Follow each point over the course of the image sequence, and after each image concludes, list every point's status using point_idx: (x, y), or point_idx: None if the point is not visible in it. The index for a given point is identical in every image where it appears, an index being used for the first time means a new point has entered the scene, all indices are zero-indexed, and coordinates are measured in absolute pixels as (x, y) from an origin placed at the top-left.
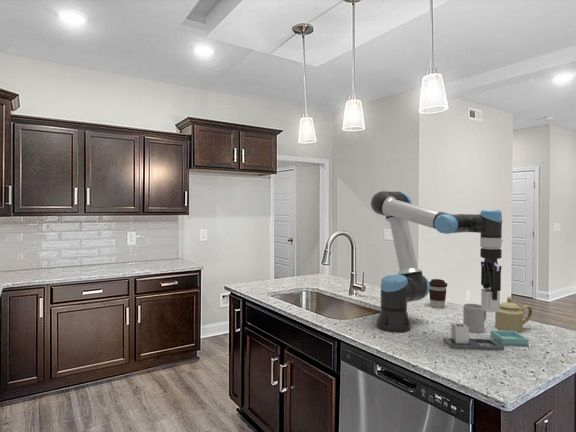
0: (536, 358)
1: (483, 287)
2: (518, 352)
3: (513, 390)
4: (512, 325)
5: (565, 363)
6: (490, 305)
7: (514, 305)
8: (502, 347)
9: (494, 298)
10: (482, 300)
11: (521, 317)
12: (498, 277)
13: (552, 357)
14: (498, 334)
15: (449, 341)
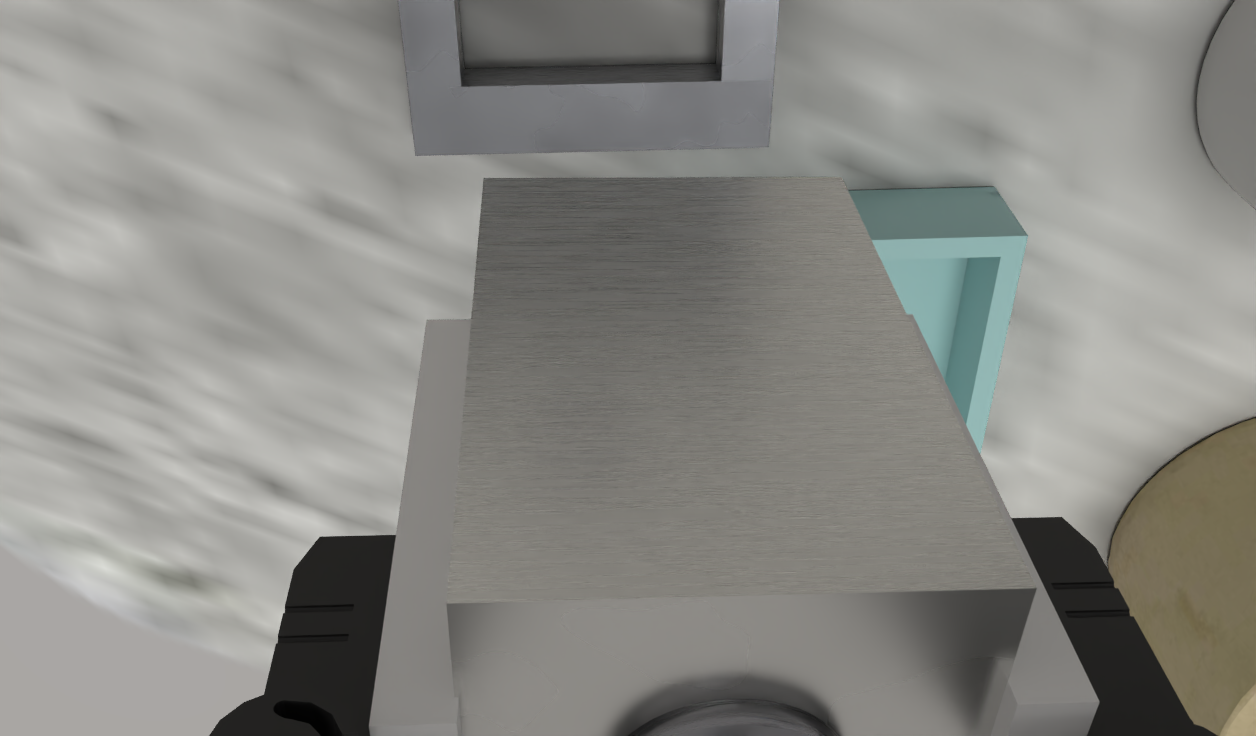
0: (200, 395)
1: (1153, 723)
2: (372, 288)
3: None
4: (1160, 579)
5: (131, 586)
6: (421, 366)
7: None
8: (414, 136)
9: (295, 605)
10: (803, 314)
11: None
12: None
13: (286, 553)
14: (969, 306)
15: None
